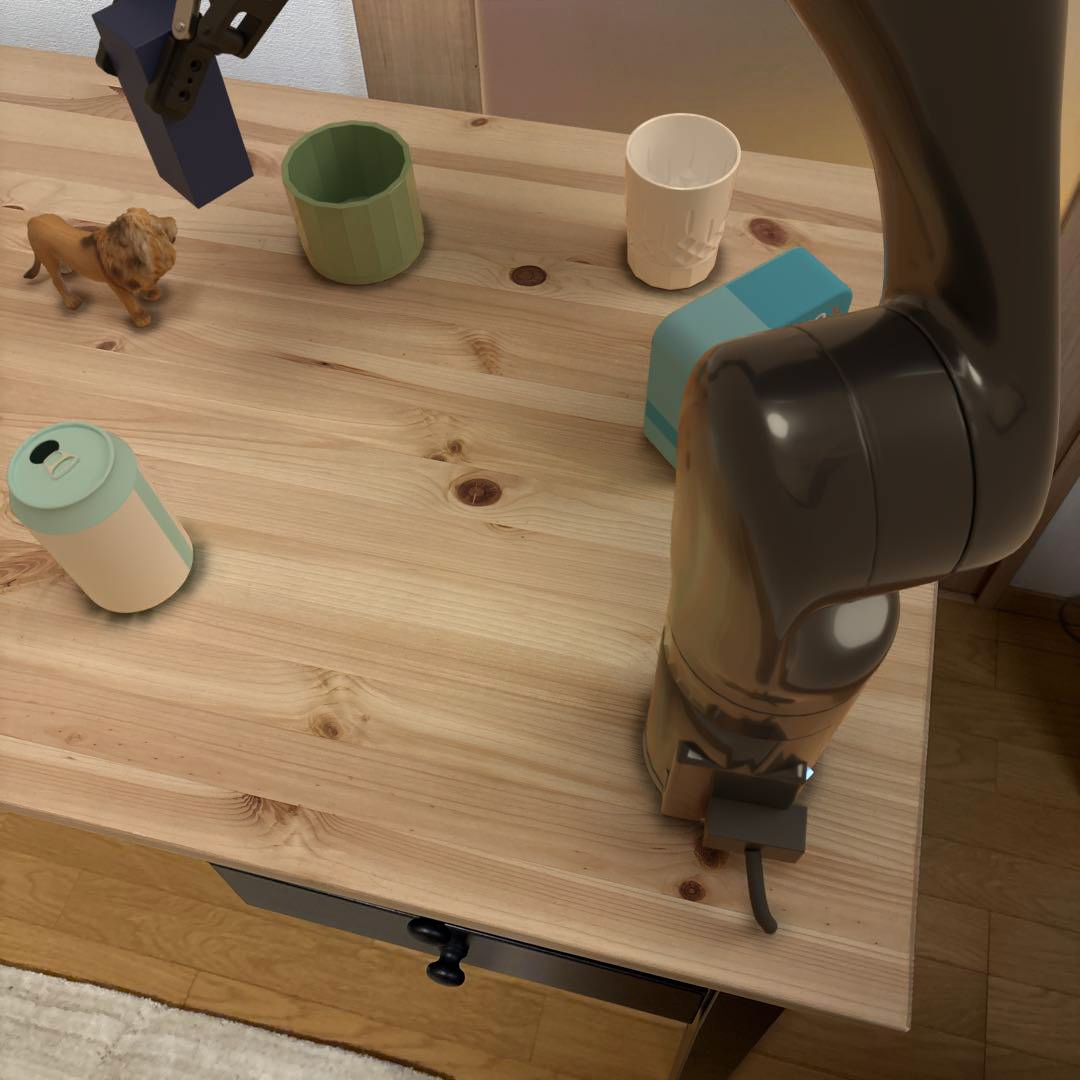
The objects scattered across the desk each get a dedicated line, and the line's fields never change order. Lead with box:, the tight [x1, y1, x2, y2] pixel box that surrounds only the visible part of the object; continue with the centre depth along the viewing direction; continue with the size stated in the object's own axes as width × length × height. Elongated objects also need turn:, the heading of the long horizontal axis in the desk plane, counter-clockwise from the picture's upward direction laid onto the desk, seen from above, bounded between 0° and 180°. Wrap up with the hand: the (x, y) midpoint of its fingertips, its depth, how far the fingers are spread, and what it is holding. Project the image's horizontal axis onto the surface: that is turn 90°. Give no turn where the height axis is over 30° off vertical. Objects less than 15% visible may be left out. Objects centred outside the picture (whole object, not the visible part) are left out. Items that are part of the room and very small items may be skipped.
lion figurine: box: [22, 206, 179, 328], centre depth 73 cm, size 15×5×9 cm, turn 77°
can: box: [5, 420, 194, 614], centre depth 59 cm, size 7×7×12 cm
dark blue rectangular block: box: [91, 0, 255, 210], centre depth 54 cm, size 4×4×10 cm
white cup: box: [624, 112, 742, 291], centre depth 73 cm, size 8×8×10 cm
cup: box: [280, 119, 425, 286], centre depth 76 cm, size 9×9×8 cm
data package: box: [642, 246, 854, 470], centre depth 64 cm, size 12×4×12 cm, turn 123°
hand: (139, 92), depth 53 cm, fingers closed on dark blue rectangular block, 4 cm apart
